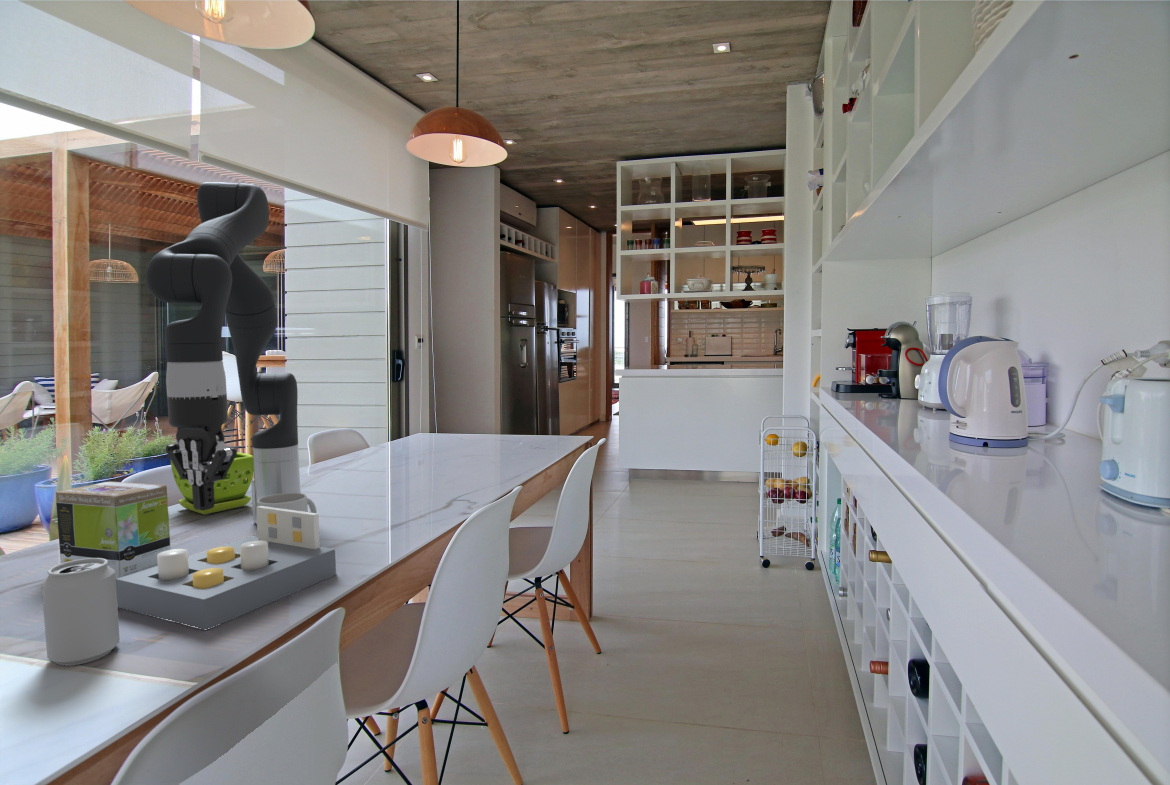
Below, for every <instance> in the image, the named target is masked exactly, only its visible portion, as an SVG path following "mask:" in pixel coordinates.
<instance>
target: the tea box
mask: <svg viewBox="0 0 1170 785" xmlns="http://www.w3.org/2000/svg"><path fill="white" fill-rule="evenodd" d="M168 498H169V497H168V486H167V485H166V484H155V483H154V484H153V483H140V482H127V481H125V482H124V481H123V482H121V481H104V482H99V483H94V484H89V485H84V486H79V487H74V488H70V489H69V488H68V489H63V490H59V491H56V492H55V503H56V504H55V505H56V515H57V531H58V545H59V558H60V559H59V560H60V564H62V563H65V562H69V561H74V560H79V559H87V558H103V559H106V560H108V564H107V565H108V566H109V567H111V568H112V569H114V570H115V580H116V579H117V578H120V577H124V576H127V575H130V574H133V573H136V572H140V571H143V570H146V569H149V568H152V567H155V566H158V562H157V554H159V553H161V552H163V551H167V550H172V549H171V538H170V536H171V535H170V534H171V533H170V522H169V516H170V515H169V500H168Z"/></svg>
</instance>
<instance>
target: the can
mask: <svg viewBox="0 0 1170 785" xmlns="http://www.w3.org/2000/svg"><path fill="white" fill-rule="evenodd" d="M107 564H108V560H106V559H103V558H87V559H79V560H74V561H69V562H65V563H62V564H61V563H58V564H56V565H53V566H52V567H51V568H49V569H48V570H47V571H46V574H48V575H47V577H46V578H45V579H44V580H43V581H42V583H41V595H42V607H43V608H42V609H43V620H44V622H43V623H44V634H45V644H46V645H45V646H46V657H47V659H48V660H49V661H51V662H53V663H56V664H57V665H60V666H64V665H65V667H66V666H68V667H69V666H78V665H83V664H87V663H90V662H94V661H97V660H99V659H102V658H104V657H106V656H107V655H109V654H110V653H111V652H112V651H113V650H114V648H115V647H116V646H117V645H119V643H120V624H119V612H118V609H119V608H118V604H117V590H116V579H115V570H114V569H112V568H111V567H109V566H108V565H107ZM112 649H113V650H112ZM111 650H112V651H111ZM101 657H102V658H101Z"/></svg>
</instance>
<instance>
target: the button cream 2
mask: <svg viewBox="0 0 1170 785" xmlns="http://www.w3.org/2000/svg"><path fill="white" fill-rule="evenodd" d="M240 558H241V569H242V570H247V571H255V570H258V569H261V568H263V567H266V566H269V558H268V542H267V541H261V540H260V541H250V542H246V543H243V544H241V545H240Z"/></svg>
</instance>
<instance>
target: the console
mask: <svg viewBox="0 0 1170 785" xmlns="http://www.w3.org/2000/svg"><path fill="white" fill-rule="evenodd" d="M256 511H257V524H256V527H257V528H256V529H257V535H251V536H248V537H247V536H246V537H245V538H241V539H239V540H235V541H232V542H229V543H225V544H222V545H219V546H217V547H213V548H210V549H207V550H206V549H205V550H204V551H200V552H197V553H194V554H190V555H188V566H189V575H186V576H183V577H180V578H177V579H174V580H171V581H164V580H159V577H158V566H155V567H152V568H149V569H146V570H143V571H140V572H136V573H133V574H130V575H127V576H124V577H120V578H117V579H115V580H116V595H117V608H118V607H119V608H118V609H121V608H122V609H121V610H124V609H126V610H125V611H128V610H130V611H129V612H132V611H134V612H133V613H136V612H138V613H137V614H140V613H143V614H142V615H144V614H147V615H151V616H155V617H159V618H163V619H168V620H172V621H175V622H179V623H183V624H187V625H190V626H195V627H198V628H201V629H208V628H211V627H213V626H216V625H218V624H220V625H222V624H221V623H223V624H225V623H227V622H230V621H232V620H234V619H236V617H237V618H238V617H239V618H240V617H241V616H243V615H245V613H246V614H248V613H250V612H253V611H255V610H257V609H260V608H261V607H265V606H267V605H269V604H271V603H274V602H276V601H278V600H281V599H282V598H286V597H288V596H289V595H292V594H294V593H297V592H299V591H301V590H304V589H305V588H308V587H310V586H313V585H315V584H318V583H319V582H321V581H324V580H326V579H329V578H331V577H333V576H336V575H337V566H336V548H331V547H326V546H321V544H320V542H321V540H320V524H319V523H320V520H319V513H318V512H317V513H311V511H310V512H309V511H308V512H303V511H295V510H288V509H281V508H273V507H266V506H259V507H256ZM260 540H261V541H267V542H268V558H269V566H266V567H263V568H261V569H258V570H255V571H247V570H242V569H241V558H240V545H241V544H243V543H246V542H250V541H260ZM218 547H234V551H235V559H233V560H230V561H227V562H224V563H221V564H218V565H216V564H211V563H207V551H208V550H211V549H214V548H218ZM210 568H221V569H223V575H224V582H223V583H220V584H217V585H215V586H212V587H209V588H207V589H200V588H195V587H193V574H194V573H195V572H197V571H200V570H204V569H210ZM273 601H274V602H273ZM147 615H146V616H147ZM151 616H150V617H151ZM155 617H154V618H155ZM159 618H158V619H159ZM163 619H162V620H163ZM231 619H232V620H231ZM229 620H230V621H229ZM224 622H225V623H224ZM218 626H219V625H218ZM216 627H217V626H216ZM213 628H214V627H213ZM201 629H200V630H201ZM211 629H212V628H211Z"/></svg>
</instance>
